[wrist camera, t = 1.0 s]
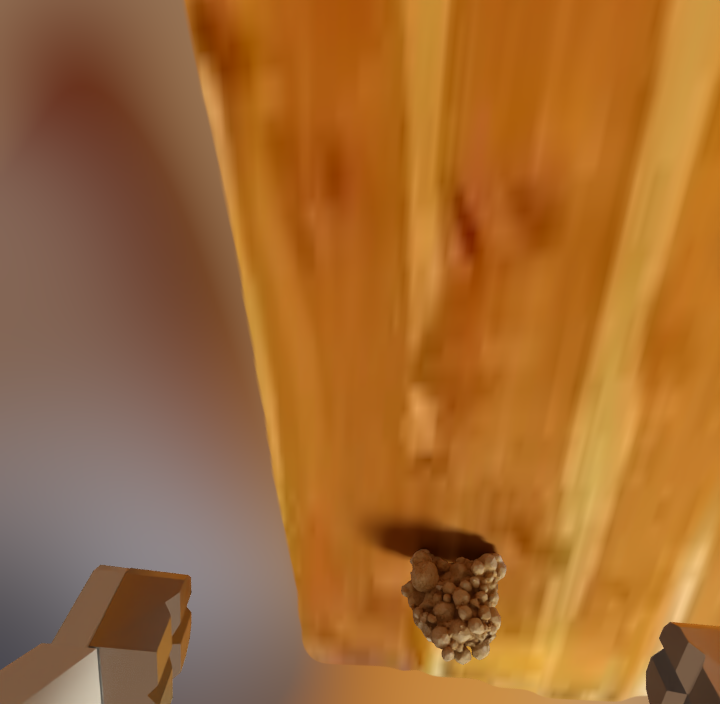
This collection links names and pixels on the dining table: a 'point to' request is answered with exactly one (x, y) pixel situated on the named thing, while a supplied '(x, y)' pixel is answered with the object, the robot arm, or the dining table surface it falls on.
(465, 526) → the dining table surface
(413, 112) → the dining table surface
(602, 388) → the dining table surface
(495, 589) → the mineral formation
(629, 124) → the dining table surface
